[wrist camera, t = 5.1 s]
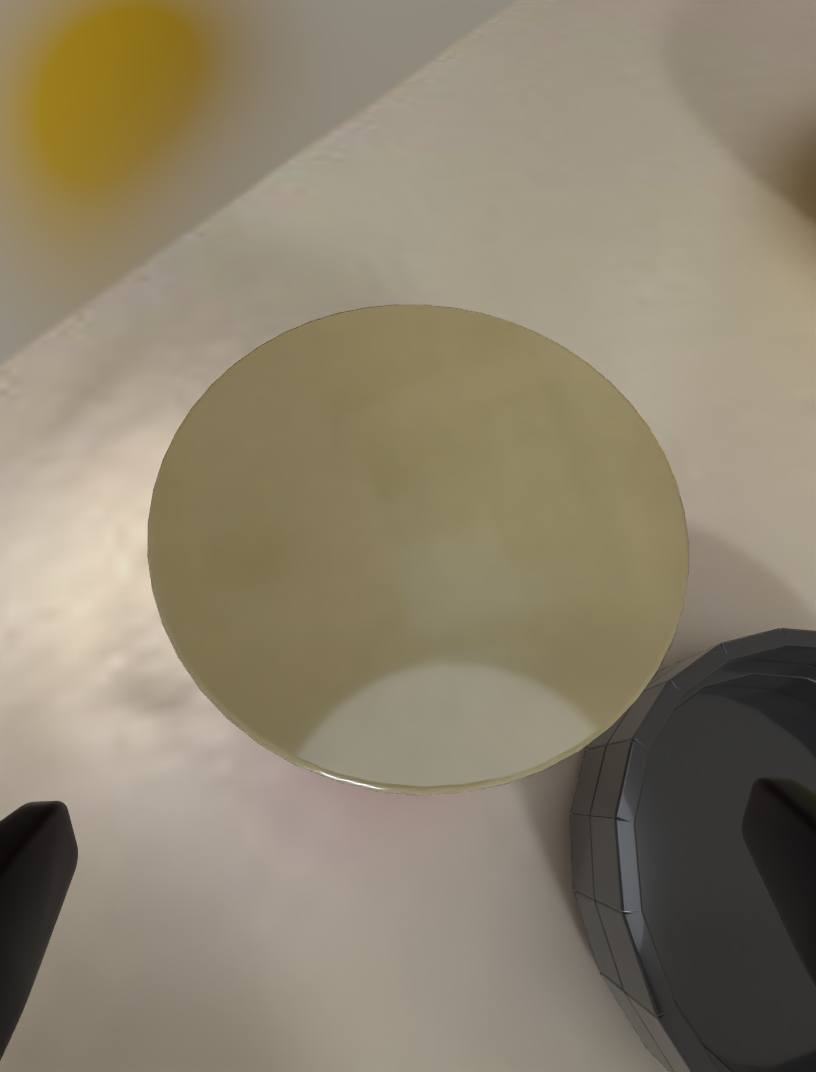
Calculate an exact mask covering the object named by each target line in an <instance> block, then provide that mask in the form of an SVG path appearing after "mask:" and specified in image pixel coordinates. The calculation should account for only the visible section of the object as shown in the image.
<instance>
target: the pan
mask: <svg viewBox="0 0 816 1072" xmlns="http://www.w3.org/2000/svg"><path fill="white" fill-rule="evenodd" d="M781 776H784V777H789V778H792V779H794V780H796V781H798V782H800V783H801V784H803V785H805V786H806V787H808V788H810V789H812V790H813V791H815V792H816V631H811V630H799V629H787V628H781V629H779V628H778V629H774V630H770V631H766V632H762V633H758V634H754V635H750V636H746V637H743V638H739V639H735V640H731V641H727V642H723V643H720V644H718V645H715V646H713V647H711V648H709V649H706V650H704V651H702V652H700V653H697V654H695V655H693V656H691V657H689V658H686V659H684V660H682V661H680V662H678V663H675V664H673V665H671V666H669V667H666V668H664V669H662V670H660V671H659V672H657V673H656V674H655V676H654V677H653V679H652V680H651V681H650V683H649V684H648V686H647V687H646V688H645V690H644V691H643V693H642V694H641V696H640V697H639V698H638V700H637V701H636V702H635V703H634V704H633V705H632V706H631V707H630V708H629V709H628V710H627V711H626V713H625V714H624V715H623V716H622V717H621V718H620V719H619V720H618V721H617V722H616V723H615V724H614V725H613V726H612V727H611V728H610V729H609V730H607V731H606V732H605V733H603V734H602V735H601V736H599V737H598V738H597V739H595V740H594V741H593V742H591V743H590V744H589V746H588V747H587V750H586V752H585V756H584V760H583V764H582V768H581V772H580V776H579V780H578V784H577V788H576V792H575V796H574V800H573V804H572V808H571V814H570V828H571V851H572V873H573V889H574V890H575V896H576V899H577V903H578V906H579V909H580V912H581V915H582V919H583V922H584V925H585V928H586V931H587V935H588V938H589V941H590V944H591V947H592V950H593V954H594V957H595V960H596V963H597V966H598V969H599V970H600V974H601V976H602V978H603V979H604V981H605V983H606V984H607V986H608V987H609V989H610V991H611V992H612V994H613V995H614V997H615V999H616V1000H617V1002H618V1004H619V1005H620V1007H621V1008H622V1010H623V1012H624V1013H625V1015H626V1017H627V1018H628V1020H629V1021H630V1023H631V1025H632V1026H633V1028H634V1030H635V1031H636V1033H637V1034H638V1036H639V1038H640V1039H641V1041H642V1043H643V1044H644V1046H645V1047H646V1048H647V1049H648V1050H649V1051H650V1053H651V1054H652V1055H653V1056H654V1057H655V1058H656V1059H657V1060H658V1061H659V1062H660V1063H661V1064H662V1065H663V1066H664V1067H665V1068H666V1069H667V1070H669V1071H670V1072H816V987H815V985H814V984H813V982H812V980H811V978H810V976H809V975H808V973H807V971H806V969H805V967H804V965H803V963H802V961H801V959H800V957H799V955H798V953H797V951H796V949H795V948H794V945H793V943H792V941H791V939H790V937H789V935H788V933H787V931H786V929H785V926H784V924H783V922H782V920H781V918H780V916H779V914H778V912H777V910H776V907H775V905H774V903H773V901H772V899H771V897H770V895H769V893H768V891H767V888H766V886H765V884H764V882H763V880H762V878H761V876H760V874H759V872H758V869H757V867H756V865H755V863H754V861H753V859H752V857H751V855H750V852H749V850H748V848H747V846H746V844H745V841H744V838H743V835H742V819H743V815H744V812H745V808H746V805H747V801H748V798H749V794H750V791H751V787H752V785H753V782H754V781H755V780H756V779H758V778H760V777H781Z"/></svg>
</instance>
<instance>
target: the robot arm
mask: <svg viewBox="0 0 816 1072" xmlns="http://www.w3.org/2000/svg"><path fill="white" fill-rule="evenodd" d="M742 835H743V838H744V841H745V844H746V846H747V848H748V850H749V852H750V855H751V857H752V859H753V861H754V863H755V865H756V867H757V869H758V872H759V874H760V876H761V878H762V880H763V882H764V884H765V886H766V888H767V891H768V893H769V895H770V897H771V899H772V901H773V903H774V905H775V907H776V910H777V912H778V914H779V916H780V918H781V920H782V922H783V924H784V926H785V929H786V931H787V933H788V935H789V937H790V939H791V941H792V943H793V945H794V948H795V949H796V951H797V953H798V955H799V957H800V959H801V961H802V963H803V965H804V967H805V969H806V971H807V973H808V975H809V976H810V978H811V980H812V982H813V984H814V985H815V987H816V792H815V791H813V790H812V789H810V788H808V787H806V786H805V785H803V784H801V783H800V782H798V781H796V780H794V779H792V778H789V777H784V776H781V777H760V778H758V779H756V780H755V781H754V782H753V785H752V787H751V791H750V794H749V798H748V801H747V805H746V808H745V812H744V815H743V819H742ZM77 859H78V847H77V843H76V839H75V835H74V831H73V828H72V824H71V820H70V816H69V812H68V809H67V807H66V805H65V804H64V803H63V802H60V801H41V802H30V803H27V804H25V805H23V806H21V807H20V808H18V809H17V810H15V811H14V812H13V813H11V814H10V815H8V816H7V817H6V818H4V819H3V820H1V821H0V1060H1V1058H2V1056H3V1054H4V1052H5V1049H6V1047H7V1045H8V1043H9V1041H10V1039H11V1037H12V1034H13V1032H14V1030H15V1028H16V1025H17V1023H18V1021H19V1018H20V1016H21V1014H22V1012H23V1009H24V1007H25V1004H26V1002H27V999H28V997H29V994H30V992H31V989H32V986H33V984H34V981H35V978H36V976H37V973H38V970H39V967H40V965H41V962H42V959H43V957H44V954H45V951H46V948H47V946H48V943H49V940H50V937H51V935H52V932H53V929H54V926H55V924H56V921H57V918H58V915H59V913H60V910H61V907H62V905H63V902H64V899H65V896H66V894H67V891H68V888H69V885H70V883H71V880H72V877H73V874H74V872H75V869H76V865H77Z"/></svg>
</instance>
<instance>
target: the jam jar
mask: <svg viewBox="0 0 816 1072" xmlns="http://www.w3.org/2000/svg"><path fill="white" fill-rule="evenodd" d="M147 557H148V564H149V571H150V578H151V586H152V592H153V595H154V598H155V602H156V605H157V608H158V612H159V615H160V618H161V622H162V625H163V627H164V629H165V631H166V633H167V635H168V637H169V639H170V642H171V644H172V646H173V648H174V650H175V652H176V654H177V656H178V658H179V660H180V661H181V663H182V664H183V665H184V667H185V668H186V670H187V671H188V673H189V674H190V676H191V677H192V679H193V680H194V682H195V683H196V685H197V686H198V688H199V689H200V690H201V691H202V692H203V693H204V694H205V696H206V697H207V698H208V699H209V700H210V701H211V702H212V703H213V704H214V705H215V706H216V707H217V708H218V710H219V711H220V712H221V713H222V714H223V715H224V716H225V717H226V718H227V719H228V720H229V721H231V722H232V723H233V724H234V725H236V726H237V727H238V728H239V729H241V730H242V731H243V732H244V733H246V734H247V735H248V736H249V737H251V738H252V739H253V740H254V741H256V742H257V743H258V744H260V745H262V746H263V747H265V748H267V749H268V750H270V751H272V752H274V753H275V754H277V755H279V756H280V757H282V758H284V759H286V760H287V761H289V762H291V763H292V764H294V765H296V766H299V767H301V768H304V769H306V770H309V771H311V772H314V773H316V774H319V775H321V776H324V777H326V778H329V779H331V780H334V781H337V782H339V783H343V784H347V785H352V786H356V787H360V788H364V789H368V790H372V791H376V792H386V793H396V794H407V795H432V794H452V793H465V792H470V791H475V790H480V789H485V788H490V787H495V786H500V785H505V784H508V783H511V782H513V781H516V780H519V779H522V778H525V777H527V776H530V775H533V774H536V773H539V772H541V771H544V770H546V769H548V768H550V767H551V766H553V765H555V764H557V763H559V762H561V761H563V760H564V759H566V758H568V757H570V756H572V755H574V754H576V753H578V752H579V751H581V750H582V749H583V748H585V747H586V746H587V745H589V744H590V743H591V742H593V741H594V740H595V739H597V738H598V737H599V736H601V735H602V734H603V733H605V732H606V731H607V730H609V729H610V728H611V727H612V726H613V725H614V724H615V723H616V722H617V721H618V720H619V719H620V718H621V717H622V716H623V715H624V714H625V713H626V711H627V710H628V709H629V708H630V707H631V706H632V705H633V704H634V703H635V702H636V701H637V700H638V698H639V697H640V696H641V694H642V693H643V691H644V690H645V688H646V687H647V686H648V684H649V683H650V681H651V680H652V679H653V677H654V676H655V674H656V673H657V671H658V669H659V667H660V665H661V663H662V661H663V659H664V657H665V655H666V653H667V651H668V649H669V647H670V645H671V643H672V641H673V638H674V635H675V632H676V629H677V626H678V623H679V619H680V616H681V613H682V610H683V605H684V599H685V592H686V586H687V580H688V563H689V541H688V533H687V526H686V519H685V512H684V508H683V504H682V500H681V497H680V493H679V490H678V486H677V483H676V480H675V477H674V475H673V473H672V470H671V468H670V466H669V463H668V461H667V459H666V456H665V454H664V452H663V450H662V449H661V447H660V445H659V444H658V442H657V440H656V439H655V437H654V435H653V433H652V432H651V430H650V428H649V427H648V425H647V424H646V423H645V421H644V420H643V419H642V417H641V416H640V415H639V414H638V412H637V411H636V410H635V408H634V407H633V406H632V404H631V403H630V402H629V401H628V400H627V399H626V398H625V397H624V396H623V395H622V394H621V393H620V392H619V391H618V390H617V389H616V387H615V386H614V385H613V384H612V383H611V382H610V381H609V380H607V379H606V378H605V377H604V376H603V375H601V374H600V373H599V372H598V371H597V370H595V369H594V368H593V367H592V366H591V365H589V364H588V363H587V362H585V361H584V360H582V359H581V358H579V357H578V356H576V355H575V354H573V353H572V352H570V351H569V350H567V349H566V348H564V347H563V346H561V345H559V344H557V343H555V342H554V341H552V340H550V339H548V338H546V337H544V336H542V335H540V334H539V333H537V332H534V331H532V330H529V329H527V328H524V327H522V326H519V325H517V324H515V323H512V322H509V321H506V320H503V319H500V318H496V317H493V316H490V315H486V314H483V313H478V312H473V311H468V310H463V309H458V308H452V307H442V306H432V305H388V306H377V307H367V308H362V309H357V310H352V311H347V312H341V313H337V314H334V315H331V316H327V317H324V318H321V319H317V320H314V321H311V322H308V323H306V324H304V325H301V326H299V327H296V328H294V329H292V330H289V331H287V332H285V333H283V334H281V335H279V336H277V337H275V338H274V339H272V340H270V341H268V342H266V343H265V344H263V345H261V346H259V347H258V348H256V349H255V350H253V351H252V352H251V353H249V354H248V355H246V356H245V357H244V358H242V359H241V360H239V361H238V362H237V363H235V364H234V365H233V366H232V367H231V368H229V369H228V370H227V371H226V372H225V373H224V374H223V375H222V376H221V377H220V378H218V379H217V380H216V381H215V382H214V383H213V384H212V385H211V386H210V387H209V388H208V390H207V391H206V392H205V393H204V394H203V395H202V397H201V398H200V399H199V400H198V401H197V402H196V404H195V405H194V406H193V407H192V409H191V410H190V412H189V413H188V415H187V416H186V418H185V419H184V421H183V422H182V424H181V425H180V427H179V428H178V430H177V431H176V433H175V435H174V438H173V440H172V442H171V444H170V446H169V448H168V450H167V452H166V454H165V456H164V458H163V461H162V464H161V467H160V470H159V473H158V477H157V480H156V483H155V486H154V489H153V495H152V501H151V507H150V513H149V519H148V554H147Z"/></svg>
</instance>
